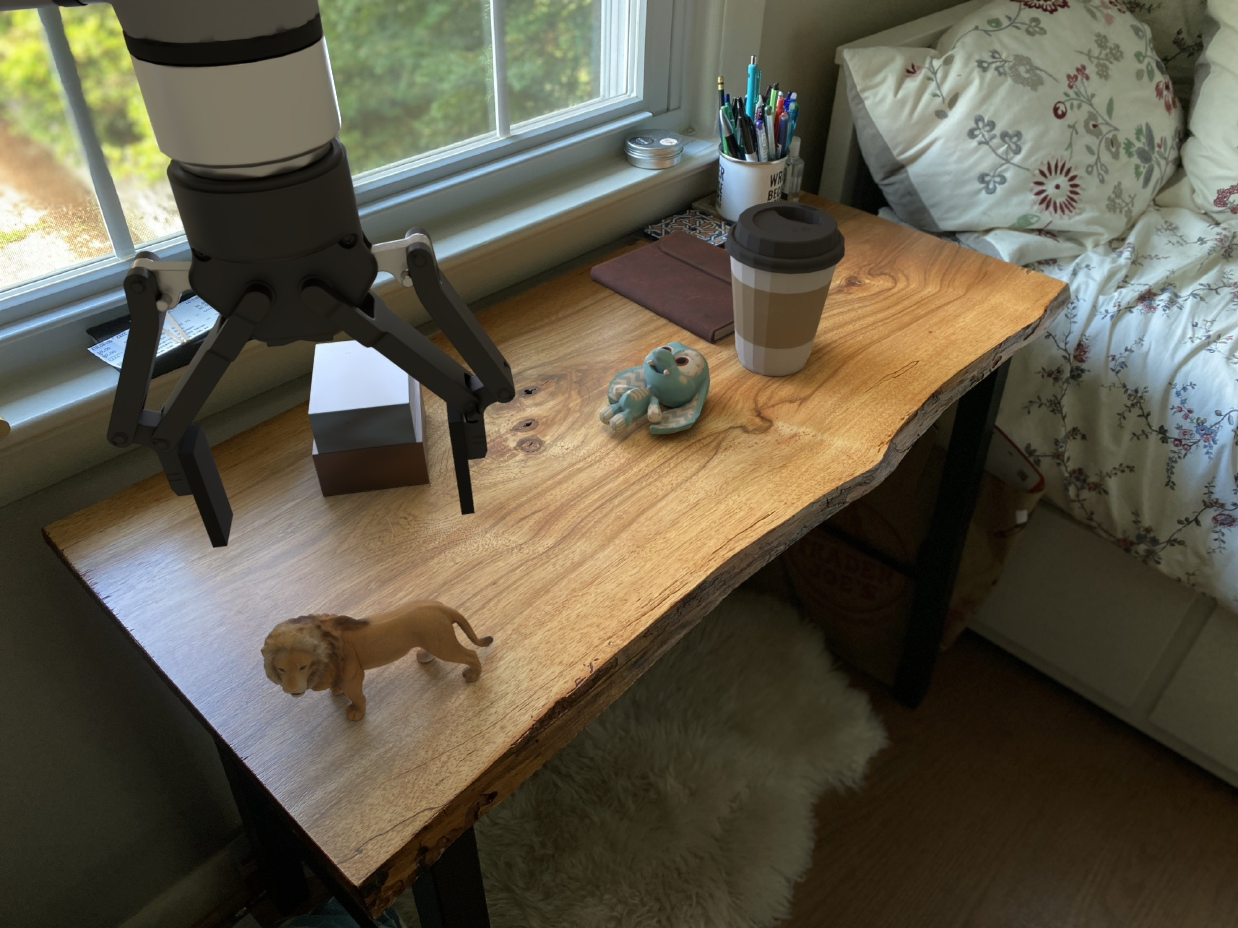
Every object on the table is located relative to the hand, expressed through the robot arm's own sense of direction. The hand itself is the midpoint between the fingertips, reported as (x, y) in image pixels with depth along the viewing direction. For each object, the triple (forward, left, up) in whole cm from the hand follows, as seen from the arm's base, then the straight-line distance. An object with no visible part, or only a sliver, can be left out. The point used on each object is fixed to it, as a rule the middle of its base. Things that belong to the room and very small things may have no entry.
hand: (347, 515), depth 53 cm
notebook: (+35, +51, -16) cm, 64 cm away
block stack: (-1, +27, -16) cm, 32 cm away
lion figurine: (0, 0, -16) cm, 16 cm away
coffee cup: (+39, +35, -16) cm, 55 cm away
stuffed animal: (+25, +28, -16) cm, 41 cm away
